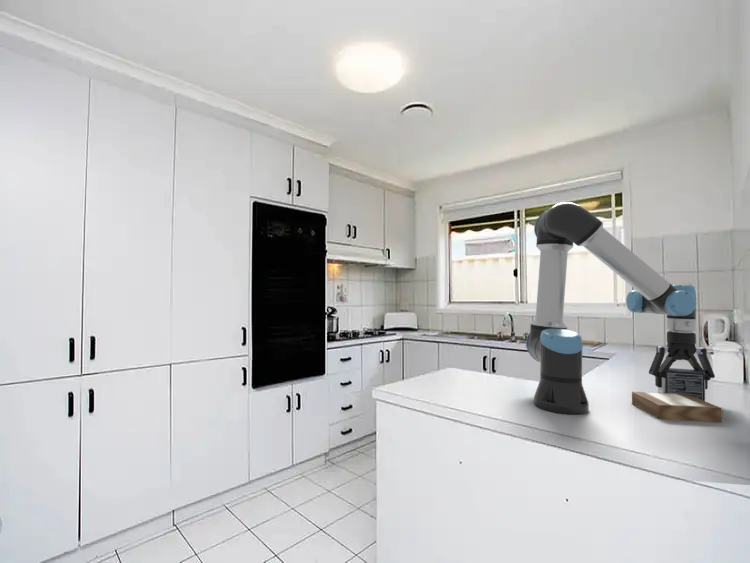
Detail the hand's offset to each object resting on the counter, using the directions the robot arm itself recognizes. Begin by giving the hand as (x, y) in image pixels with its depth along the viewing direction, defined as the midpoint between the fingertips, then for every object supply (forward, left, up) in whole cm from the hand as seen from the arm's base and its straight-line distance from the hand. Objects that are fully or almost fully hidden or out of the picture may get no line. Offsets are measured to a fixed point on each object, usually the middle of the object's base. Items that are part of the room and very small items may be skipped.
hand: (681, 398), depth 125 cm
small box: (0, 0, -1) cm, 1 cm away
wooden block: (-10, -13, -1) cm, 16 cm away
